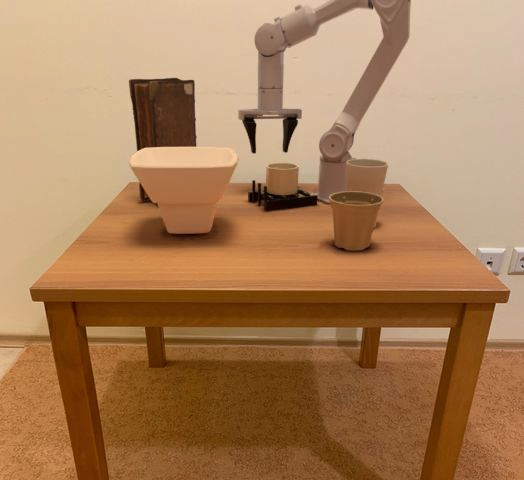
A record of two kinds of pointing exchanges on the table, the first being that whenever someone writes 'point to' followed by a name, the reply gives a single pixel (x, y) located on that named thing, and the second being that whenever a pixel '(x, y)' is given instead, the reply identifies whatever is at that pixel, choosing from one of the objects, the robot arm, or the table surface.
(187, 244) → the table surface
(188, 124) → the book
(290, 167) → the beige mug
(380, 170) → the cup
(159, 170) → the bowl
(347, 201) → the flower pot
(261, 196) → the rack
